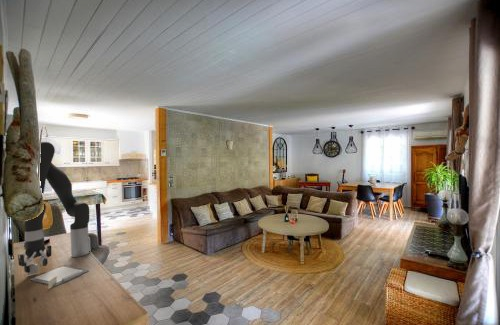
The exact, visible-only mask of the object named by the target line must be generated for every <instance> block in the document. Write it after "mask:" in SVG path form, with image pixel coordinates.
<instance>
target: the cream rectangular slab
mask: <svg viewBox="0 0 500 325" xmlns="http://www.w3.org/2000/svg"><path fill="white" fill-rule="evenodd" d="M56 282H57V276H55V277H53V278H52V279H51V280H49V281H48V285H47V286H48V289H49V290H50V289H52V287H54V286H53V285H54V284H55V283H56Z"/></svg>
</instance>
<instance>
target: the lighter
mask: <svg viewBox="0 0 500 325" xmlns="http://www.w3.org/2000/svg"><path fill="white" fill-rule="evenodd" d="M44 258H45V256H44V257H43V256H40V258H39V260H38V262H37V263H35V262H32V263H30V264H29V265H30V272H29V273H26V274H27V276H31V275H34V274H35V275H36V274H38V273H39V265H40V266H41V265H43V263H42V262H43V260H44Z"/></svg>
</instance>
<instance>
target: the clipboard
mask: <svg viewBox="0 0 500 325" xmlns="http://www.w3.org/2000/svg"><path fill="white" fill-rule="evenodd" d="M89 271H90V270H88V269H83V268H78V267H74V266H68V265H62V266H60V267H57V268H54V269H52V270H50V271H47V272H45V273H42V274H40V275H37V276H34V277H32V278H30V279H29V281H31V280H32V281H31V282H35V283H40V284H43V283H44V284H45V285H47V286H48V281H49V280H51V279H52V278H53V277H55V276H57V282H56V283H55V284H54V285H53V287H54V288H55V287H58V286H60V285H63V284H64V283H67V282H68V281H70V280H71V281H72V280H73V279H76V278H78V277H79V276H81V275H85V274H86V273H89ZM44 284H43V285H44Z"/></svg>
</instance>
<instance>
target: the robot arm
mask: <svg viewBox="0 0 500 325" xmlns="http://www.w3.org/2000/svg"><path fill="white" fill-rule="evenodd" d="M40 142H41V163H40V181H41V187H42V193H43V194H44V193H45V189H46V188H45V187H46V180H47V182H48V183H49V185H50V187H51V188H52V190H53V191H54V192H55V194H56V196H57V197H58V199H59V200H60V202H61V204H62V207H63V208H64V210H65V212H66V213H67V215H68V216H69V217H71V218H74V222H72V223H70V228H69V229H70V230H69V231H70V249H71V250H70V251H71V254H70V255H71V257H72V258H79V257H83V256H86V255H88V254H90V253H91V251H92V250H91V237H90V236H89V224H90V205H89V204H88V203H86V202H79V201H77V200H76V198H75V197H74V194H73V184H72V182H71V179H70V178H69V177H68V175H67V174H66V173H65V172H64V171H63V170H61V169H60V168H59V167H58V166H56V165H54V164H53V163H52V161H53V158H54V157H55V153H56V149H55V145H53V144H52V143H51V142H49V141H40ZM46 210H47V206H46V203H45V204H44V210H43V212H42V213H41V214H40V215H39V216H38V217H36V218H34V219H32V218H30V219H31V220H28V219H27V220H28V221H26V220H25V221H24V247H25V252H23V253H21V254H17V259H18V266H20V267H24V268H23V269H24V272H25V273H26V274H27V273H29V272H30V264H31V262H32V261H33V259H36V258H38V257H41V256H43V257H44V256H45V258H44V260H43V262H42V266H43V267H47V265H48V263H49V262H48V258H49V257H51V256H52V245H49V244H48V245H45V231H44V223H43V221H44V216H45V213H46ZM89 251H90V252H89ZM25 257H26V258H25Z"/></svg>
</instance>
